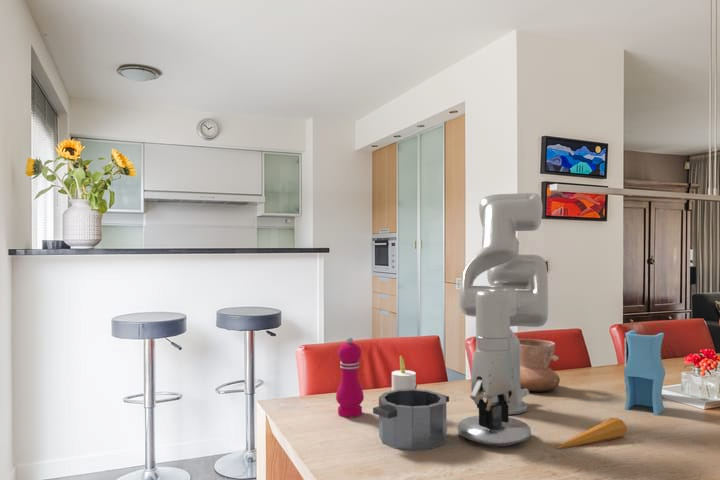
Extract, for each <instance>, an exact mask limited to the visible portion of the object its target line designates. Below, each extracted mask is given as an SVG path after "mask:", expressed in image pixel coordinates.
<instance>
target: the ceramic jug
mask: <svg viewBox="0 0 720 480" xmlns="http://www.w3.org/2000/svg"><path fill="white" fill-rule="evenodd" d="M518 339H519V342H520V374H521V389H525V388H526V389H528V390H529V392H536V393H538V392H539V393H540V392H547V391H551V390H554V389H556V388H557V387H558V386H559V384H560V383H561V382H560V381H561V379H560V376H559V375H558V373H556V371H555V370H553V369H551V368H550V367H549V365H550V364H551V361H554V362H556V361H557V360H559V359H560V358H559V356H557V355H554V353H555V349H556V343H555V342H553V341H550V340H544V339H543V340H542V339H532V338H518Z"/></svg>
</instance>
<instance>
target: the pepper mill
mask: <svg viewBox="0 0 720 480" xmlns="http://www.w3.org/2000/svg"><path fill="white" fill-rule="evenodd" d="M353 341H354V340H353V338H352V337H351V336H348V337H347V338H346V339H345V343H343V344H341V345H340V346H339V349H338V351H337V355H338V359H339V360H340V362H339V364H340V366H339V367H340V369H341V381H340V383H339V385H338V388H337V390H336V392H335V393H336V394H335V400H336V402H337V403H338V407H337V414H338V415H339V416H340V417H343V418H357V417H360V416H361V415H362V414H363V407H362V406H361V404H362V403H363V401H364V397H365V396H364V392H363V388H362V386H361V384H360V381H359V378H358V368H359V367H360V361H359V359H360V358H361V355H362V352H361V351H362V350H361V347H360V346H359V345H358V344H356V343H354V342H353Z"/></svg>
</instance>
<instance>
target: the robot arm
mask: <svg viewBox="0 0 720 480" xmlns="http://www.w3.org/2000/svg"><path fill="white" fill-rule="evenodd" d="M542 201H543V200H542V198H541V196H540V194H538V193H536V192H523V193H499V194H490V195H488V196H487V195H486V196H484V197H483V198H482V199H481V200H480V202H479V203H478V204H479V206H478V213H479V219H480V222H481V226H482V236H481V237H482V238H481V249H480V251H478V252H477V253H476V254H475V255H474V256H473V257H472V258H471V259H470V260H469V261H468V263H467V264H466V266H465V267H464V269H463V272H462V275H461V279H460V290H459V291H460V292H459V307H460V308H459V309H460V311H461V312H462V313H463V315H466V316H468V317H472V318H473V317H475V348H476V349H475V350H474V353H473V358H472V364H471V365H472V366H471V378H470V379H471V380H470V381H471V383H470V388H471V394H470V399H471V400H472V401H473V402H474V404H475V405H476V408H477V409H478V416H479V425H480V426H482V427H486V428H489V429H490V428H492V410H490V406H491V402H494V403H499V404H501V406H502V422H505V423H507V422H508V421H509V418H510V416H509V415H519V414H523V413H525V412H526V411H527V410H528V405H527V403H526V402H524V401H523V398H524V397H526V396H529V394H530V391H529V390H528V389H526V388H525V389H521V374H520V342H519V339H520V338H518V336H517V335H516V333H514V331H513V330H512V329H511V327H530V328H533V327H534V328H536V327H537V328H539V327H543V326H544V325H545V324H546V323H547V321H548V317H549V286H548V285H549V283H548V278H549V277H548V268H547V267H548V266H547V263H546V261H545V259H544V258H543V257H542V256H540V255H537V254H520V252H519V251H520V242H519V240H518V238H517V232H531V231H532V232H534V231H537V230H539V228H540V226H541V223H542V219H543V208H544V207H543V202H542ZM486 271H487V273H486V275H487V276H486V277H487V282H488V284H489V285H474V282H475V280H476V279H477V278H478V277H479V276H480V275H482V274H483V273H485V272H486Z"/></svg>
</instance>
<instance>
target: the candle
mask: <svg viewBox="0 0 720 480" xmlns="http://www.w3.org/2000/svg"><path fill="white" fill-rule="evenodd" d="M399 369H400V370H394V371H391V391H394V390H403V389H417V388H418V387H417V386H418V384H417V381H416V380H417V379H416V378H417V376H416V375H417V373H416V372H415V371H413V370H407V369H406V367H405V360H404V358H403V356H402V355H400V356H399Z"/></svg>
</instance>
